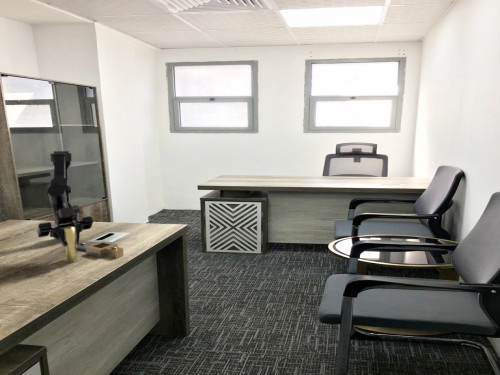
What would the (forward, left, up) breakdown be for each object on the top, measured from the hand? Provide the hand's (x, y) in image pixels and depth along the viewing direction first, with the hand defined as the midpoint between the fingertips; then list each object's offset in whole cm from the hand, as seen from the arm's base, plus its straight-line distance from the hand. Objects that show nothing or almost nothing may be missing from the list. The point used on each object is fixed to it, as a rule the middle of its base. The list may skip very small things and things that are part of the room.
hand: (71, 245), depth 137 cm
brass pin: (-1, 0, -7) cm, 7 cm away
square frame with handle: (-1, +12, -7) cm, 14 cm away
